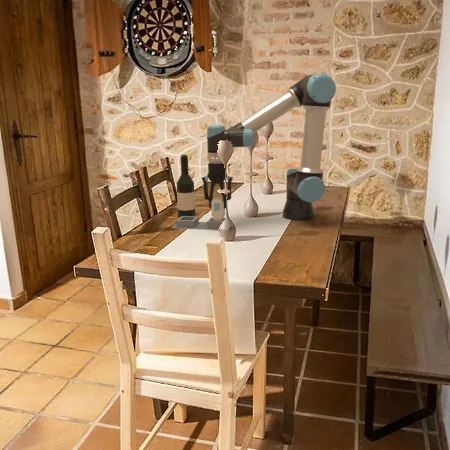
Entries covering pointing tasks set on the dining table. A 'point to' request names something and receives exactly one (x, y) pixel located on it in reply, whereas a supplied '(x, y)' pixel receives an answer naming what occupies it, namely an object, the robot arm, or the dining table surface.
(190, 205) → the wine bottle
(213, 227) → the grey holder tray
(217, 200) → the cream box
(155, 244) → the dining table surface
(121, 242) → the dining table surface
